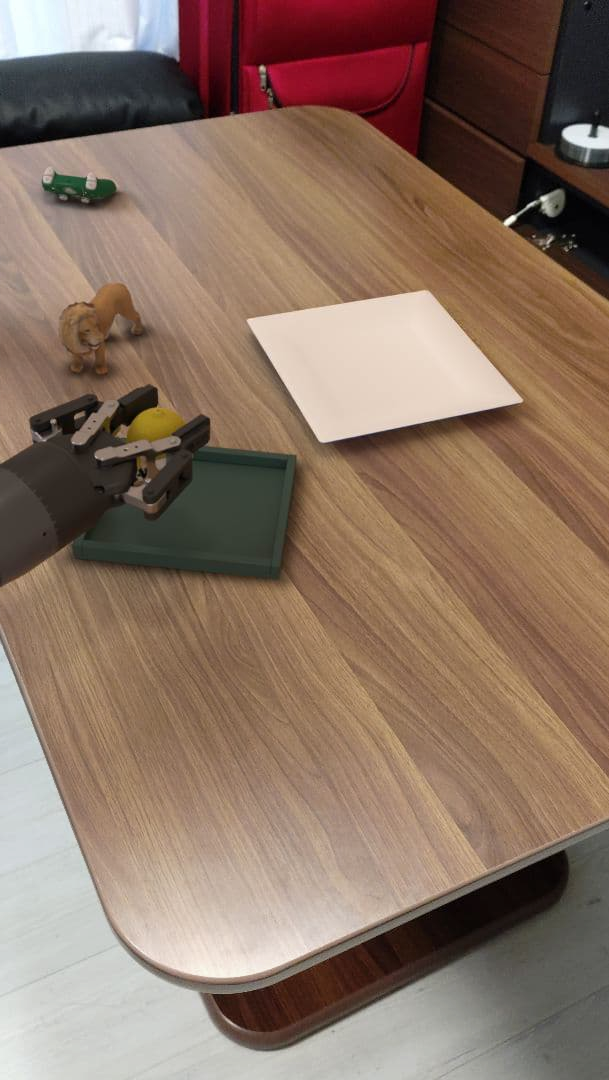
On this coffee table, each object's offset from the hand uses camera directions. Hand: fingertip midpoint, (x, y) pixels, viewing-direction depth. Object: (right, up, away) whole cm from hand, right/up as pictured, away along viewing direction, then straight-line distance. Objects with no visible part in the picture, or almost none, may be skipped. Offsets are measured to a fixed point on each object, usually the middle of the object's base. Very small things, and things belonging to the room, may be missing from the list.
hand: (179, 409), depth 80 cm
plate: (+18, +7, +24) cm, 31 cm away
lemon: (-2, -6, +3) cm, 7 cm away
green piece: (-20, +34, +49) cm, 63 cm away
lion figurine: (-11, +9, +24) cm, 27 cm away
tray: (0, -8, +8) cm, 11 cm away
